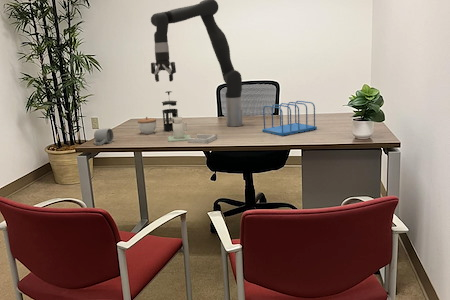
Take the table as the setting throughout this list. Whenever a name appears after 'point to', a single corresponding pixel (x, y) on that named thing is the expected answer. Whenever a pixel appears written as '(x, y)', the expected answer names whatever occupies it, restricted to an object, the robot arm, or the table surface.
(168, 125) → the french press
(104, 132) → the ceramic mug
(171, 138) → the mat
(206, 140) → the holder
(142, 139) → the table surface
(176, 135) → the figurine
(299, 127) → the file sorter
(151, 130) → the lidded jar
